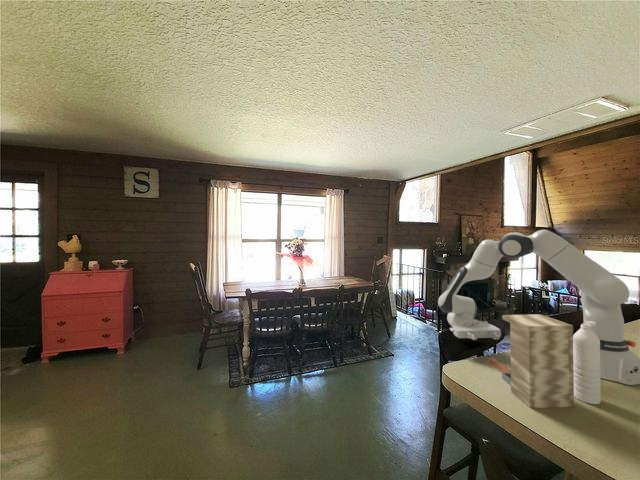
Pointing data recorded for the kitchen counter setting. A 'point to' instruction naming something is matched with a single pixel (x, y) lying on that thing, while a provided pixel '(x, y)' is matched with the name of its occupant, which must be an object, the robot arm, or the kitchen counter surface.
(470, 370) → the kitchen counter surface
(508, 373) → the shovel
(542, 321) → the stand
